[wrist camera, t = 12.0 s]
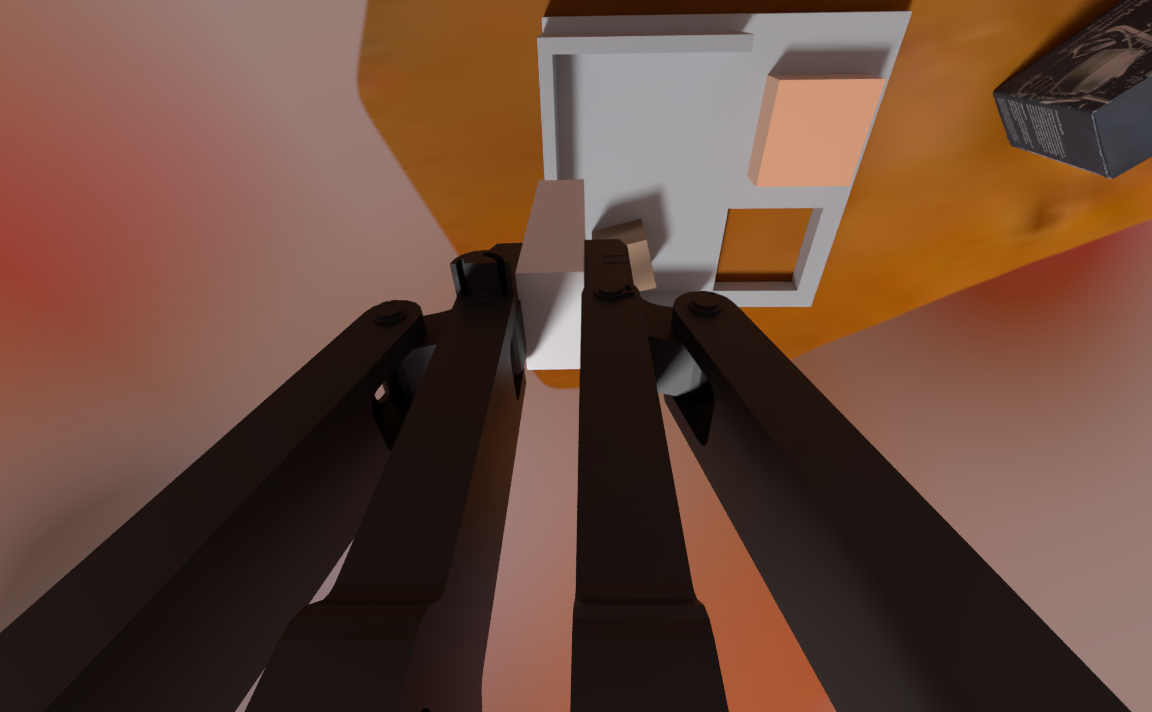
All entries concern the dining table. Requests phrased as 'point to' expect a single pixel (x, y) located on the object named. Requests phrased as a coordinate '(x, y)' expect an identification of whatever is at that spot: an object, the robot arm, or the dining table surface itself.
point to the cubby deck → (695, 129)
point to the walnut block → (633, 250)
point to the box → (1088, 95)
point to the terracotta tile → (812, 129)
